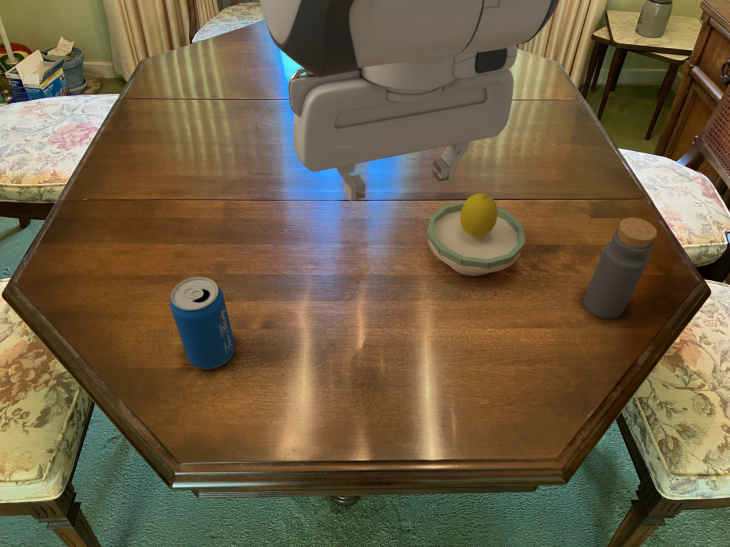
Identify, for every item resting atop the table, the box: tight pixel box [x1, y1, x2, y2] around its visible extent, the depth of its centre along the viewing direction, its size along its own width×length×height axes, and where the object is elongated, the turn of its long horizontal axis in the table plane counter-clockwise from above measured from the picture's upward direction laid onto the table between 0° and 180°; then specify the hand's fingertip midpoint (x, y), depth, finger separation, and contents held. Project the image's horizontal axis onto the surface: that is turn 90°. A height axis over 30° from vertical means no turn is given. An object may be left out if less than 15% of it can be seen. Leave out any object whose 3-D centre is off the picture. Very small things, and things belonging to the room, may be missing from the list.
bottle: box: [583, 217, 658, 320], centre depth 78 cm, size 6×6×15 cm
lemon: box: [460, 192, 498, 237], centre depth 84 cm, size 6×6×8 cm
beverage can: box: [169, 276, 236, 370], centre depth 72 cm, size 6×6×12 cm
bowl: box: [426, 200, 526, 277], centre depth 88 cm, size 15×15×6 cm
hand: (399, 186), depth 55 cm, fingers open, 8 cm apart
